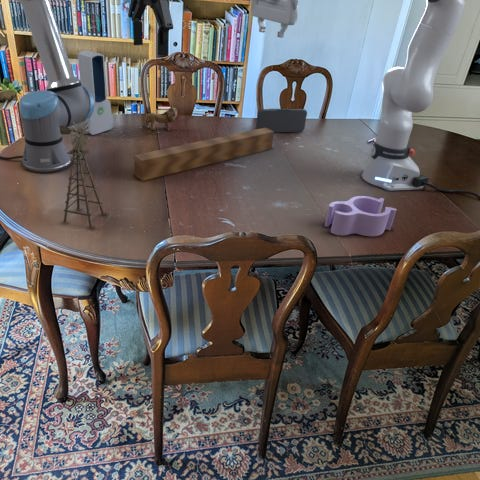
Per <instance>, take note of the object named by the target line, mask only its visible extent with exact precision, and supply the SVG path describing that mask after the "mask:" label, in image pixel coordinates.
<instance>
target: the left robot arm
mask: <svg viewBox="0 0 480 480" xmlns="http://www.w3.org/2000/svg"><path fill="white" fill-rule="evenodd" d="M15 1H17V2H18V3H19V4H20V5H21V7H22V11H23V13H24V17H25V19H26V23H27V24H28V28H29V30H30V33H31V36H32V39H33V42H34V44H35V47H36V50H37V54H38V55H39V58H40V62H41V64H42V68H43V70H44V73H45V77H46V78H47V79H46V80H47V82H48V84H47V85H46V87H45V90H44V89H43V90H41V89H40V90H34V91H30V92H27V93H25V94H23V95H22V96H21V97H20V99H19V103H18V105H19V116H20V119H21V125H22V132H23V137H24V148H23V153H22V155H17V156H16V155H14V156H9V157H7V156H1V155H0V160H6V161H7V160H9V161H10V160H15V159H22V160H21V161H22V166H23V168H24V169H25V170H27V171H29V172H33V173H39V174H46V173H56V172H61V171H63V170H66V169H67V168H69V167H70V166H71V165H72V164H71V161H72V159H71V154H67V152H69V151H68V150H67V149H68V148H67V147H66V145H65V143H64V140H63V134H60V126H64V127H67V128H70V127H71V126H72V127H73V126H74V124H73V121H74V123H75V125H76V124H78V116H79V123H80V115H81V123H82V119H83V121H84V120H85V118H86V120H87V119H89V118H90V117H91V115H92V113H93V111H94V99H93V96H92V94H91V92H90V91H88V89H87V88H85V87H83V86H82V85H81V81H80V78H79V79H78V78H77V77H76V76H75V75H74V71H73V67H72V65H71V63H70V60H69V59H70V58H69V56H68V53H67V50H66V46H65V44H64V40H63V38H62V35H61V31H60V28H59V25H58V22H57V18H56V16H55V13H54V10H53V7H52V4H51V1H50V0H15ZM147 6H149V8H150V9H152V12H153V14H154V17H155V20H156V22H157V25H158V27H159V28H158V29H157V55H158V56H168V54H169V53H168V52H169V51H168V48H169V46H168V45H169V44H168V43H169V31H170V30H174V23H173V19H172V15H171V14H172V13H171V11H170V10H171V9H170V5H169V2H168V0H130V4H129V9H128V14H127V16H128V18H130V19H131V21H132V34H133V36H132V37H133V46H143V45H144V41H143V40H144V39H143V38H144V37H143V36H144V34H143V16H144V14H145V11H146V9H147ZM83 115H84V117H83ZM75 117H76V120H77V123H76V120H75ZM59 125H60V126H59Z"/></svg>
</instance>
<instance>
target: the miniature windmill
mask: <svg viewBox="0 0 480 480" xmlns="http://www.w3.org/2000/svg"><path fill="white" fill-rule="evenodd" d="M83 117H84V115H83ZM75 120H76V117H75ZM85 120H86V118H85ZM85 120H84V122H85ZM82 122H83V119H82ZM76 123H77V120H76ZM73 124H74V125H72V126H70V127H64V126H60V125H59V126H60V134H62V135H72V136H70V141H71V142H70V143H71V145H72V149H70V150H69V151H68V152H67V154H69V155H72V159H71V164H70V169H69V170H70V173H69V177H68V180H69V181H68V185H67V192H66V200H65V201H64V203H65V208H64V209H63V212H64V216H63V223H64V224H66V223H67V219H68V213H71V214H76V215H80V216H87V221H88V226H89V229H90V228H93V224H92V218H91V216H92V215H93V214H94V213H95V212H96V211H97V210H98V209H99V210H100V212H101V213H100V214H101V215H102V216H103V215H105V211H104V209H103V206H102V205H103V202H101V199H100V196H99V193H98V191H97V186H96V184H95V182H94V180H93V176H92V172H91V170H90V168H89V165H88V159H87V158H86V155H87V154H89V153H90V152H91V150H90V149H88V148H86V149H83V148H85V146H86V144H87V140H88V139H89V137H88V136H87V135H89V134H88V132H89V131H88V132H83V131H85V130H86V129H88V127H86V128H85V126H86V125H87V122H86V124H85V125H84V123H83V125H84V127H83V125H82V123H81V115H80V126H82V127H83V128H80V127H79V126H78V124H79V116H78V123H77V124H75V123H74V121H73ZM73 126H74V127H73ZM84 128H85V129H84ZM80 129H81V130H80ZM83 129H84V130H83ZM83 165H85V168H86V171H84V170H83ZM74 168H76V171H75V173H74ZM85 174H86V175H87V176H85V177H84V175H85ZM75 176H76V177H75ZM80 176H81V177H80ZM87 179H89V180H90V182H91V185H86V183H85V181H86V180H87ZM80 182H81V183H80ZM74 183H76V184H75V186H74V187H73V188H72V185H74ZM80 187H82V190H83V194H80ZM86 188H91V189H92V190H91V191H90V192H88V194H87V189H86ZM75 189H76V192H74V190H75ZM73 192H74V193H73ZM93 192H94V195H95V198H96V200H97V201H94V200H90V199H88V197H89V196H90V195H91V194H93ZM70 195H71V196H70ZM75 196H76V199H75V200H73V201H72V202H71V203H70V200H71V199H72V198H74V197H75ZM80 197H82V198H80ZM83 198H84V199H83ZM80 202H85V208H86V213H83V212H78V211H80V206H81V205H80V204H81V203H80ZM69 203H70V204H69ZM75 203H76V209H77V211H72V210H69V208H70V207H71V206H73V205H74V204H75ZM89 203H93V204H97V206H96V207H95V208H94V209H93V210H92V211H91V212H90V207H89V206H90V205H89Z"/></svg>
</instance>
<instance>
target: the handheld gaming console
mask: <svg viewBox="0 0 480 480" xmlns="http://www.w3.org/2000/svg"><path fill="white" fill-rule="evenodd" d="M307 115H308V112H307V110H306V109H305V108H261V109H258V110H257V113H256V121H255V122H256V123H255V130H256V129H261V128H268V129H270V130H272V131H274V133H300V132H303V131H304V130H305V127H306V119H307Z"/></svg>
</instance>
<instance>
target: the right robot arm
mask: <svg viewBox="0 0 480 480" xmlns="http://www.w3.org/2000/svg"><path fill="white" fill-rule="evenodd" d="M425 1H426V7H425V10H424V13H423V15H422V17H421V19H420V21H419V23H418V25H417V28H416V29H415V31H414V33H413V35H412V38H411V39H410V42H409V44H408V47H407V50H406V51H407V56H406V61H405V65H404V67H403V66H402V67H401V66H395V67H392V68H390V69H388V71H386V72H385V73H384V75H383V78H382V81H381V86H382V97H381V98H382V99H381V114H380V120H379V125H378V128H377V132H376V137H375V138H376V139H375V140H374V141H373V143H372V146H371V151H370V156H369V159H368V161H367V164H366V166H365V169H364V170H363V172H362V173H361V177H362V179H363V180H364V181H365V182H366V183H369V184H371V185H373V186H376V187H379V188H381V189H384V190H385V191H388V192H393V191H410V190H412V191H413V190H423V189H424V186H428V187H430V188H432V189H435V190H437V191H438V192H442V193H449V194H450V193H459V194H468V195H472V196H473V197H476V198H477V199H478V200H479V201H480V194H478V193H477V192H475V191H471V190H464V189H463V190H462V189H445V188H440V187H439V186H436V185H434V184H432V183H430V182H429V177H428V176H427V175H424V174H422V175H421V172H420V167H419V166H418V165H417V163H416V162H415V161H414V160H413V158H412V157H414V156H415V155H416V150H414V148H411V147H410V146H409V141H410V137H411V134H412V130H413V126H414V122H413V113H414V114H415V113H416V114H418V113H421V112H424V111H425V110H427V109H428V108H429V107H430V106H431V104H432V102H433V100H434V84H435V80H436V77H437V73H438V69H439V66H440V63H441V60H442V59H443V56H444V54H445V52H446V50H447V48H448V46H449V45H450V42H451V41H452V38H453V36H454V34H455V32H456V30H457V28H458V26H459V23H460V21H461V19H462V16H463V13H464V9H465V6H466V1H465V0H425ZM298 4H299V0H251V1H250V15H251V16H252V17H255V18H257V24H258V32H259V33H265V32H266V29H267V28H266V26H265V24H264V23H265V21H266V20H267V21H271V22H274V23H277V24H280V30H279V31H277V35H276V36H277V38H281V39H283V38H284V36H285V32H286V31H287V29H288V28H289V26H296V24H297V23H298V13H299V5H298ZM410 156H411V157H410Z"/></svg>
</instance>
